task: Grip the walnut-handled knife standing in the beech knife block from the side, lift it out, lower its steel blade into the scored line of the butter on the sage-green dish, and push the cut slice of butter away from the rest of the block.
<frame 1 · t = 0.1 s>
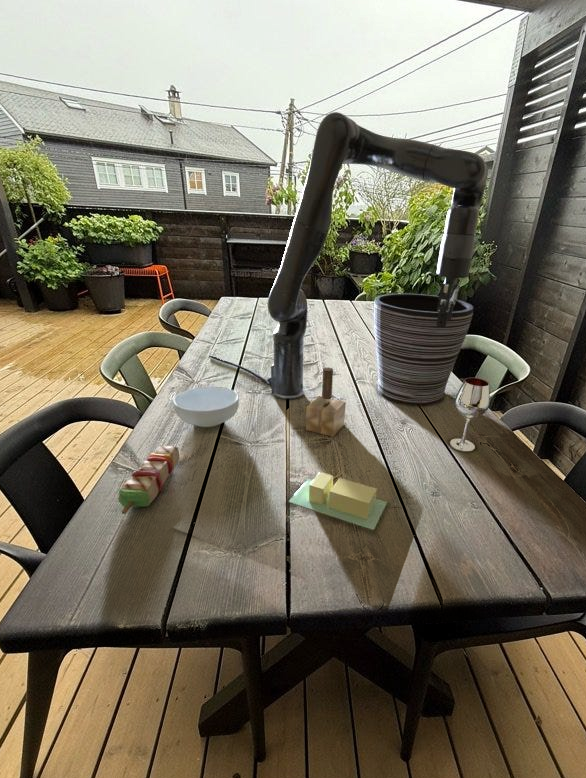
hand: (443, 323, 101), 29 cm above the table, tool pointing down, fingers open, 8 cm apart
cereal bowl: (208, 421, 110), on the table
knife block: (325, 427, 110), on the table
butter slice: (320, 496, 81), point 1 cm above the table, touching butter dish
knife: (326, 399, 106), in the knife block
butter dish: (338, 504, 81), on the table
skewer: (150, 489, 82), on the table
wineglass: (462, 446, 105), on the table
planter pot: (410, 392, 136), on the table
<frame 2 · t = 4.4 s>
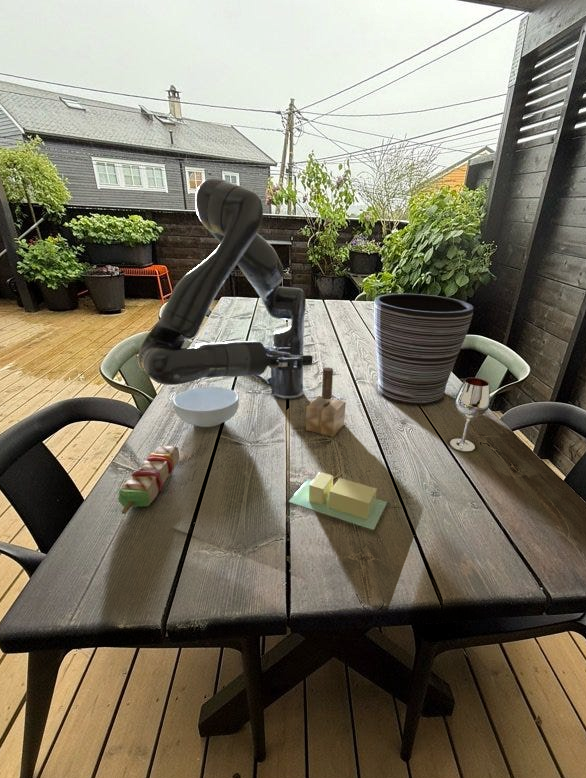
hand: (300, 355, 97), 22 cm above the table, tool horizontal, fingers open, 8 cm apart
nothing on the table moved.
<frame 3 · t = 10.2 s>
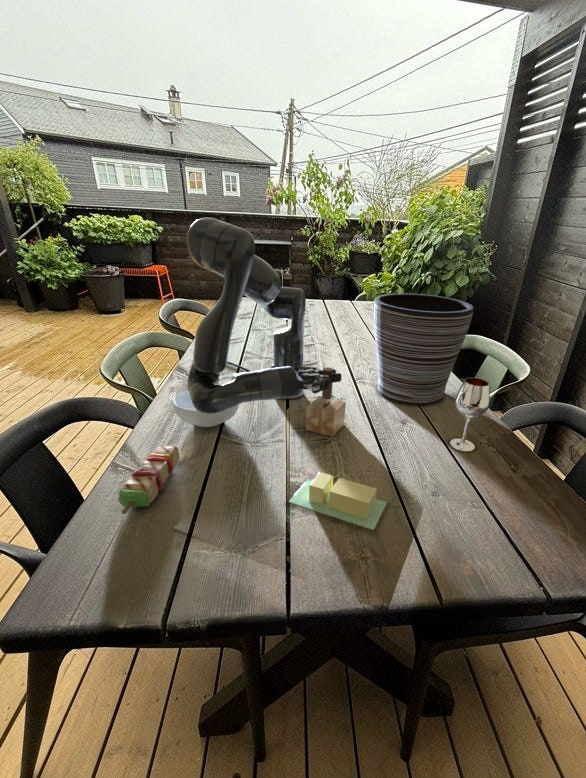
hand: (337, 375, 104), 15 cm above the table, tool horizontal, fingers closed on knife, 2 cm apart
knife: (326, 399, 106), in the knife block, touching gripper
everything else where it was.
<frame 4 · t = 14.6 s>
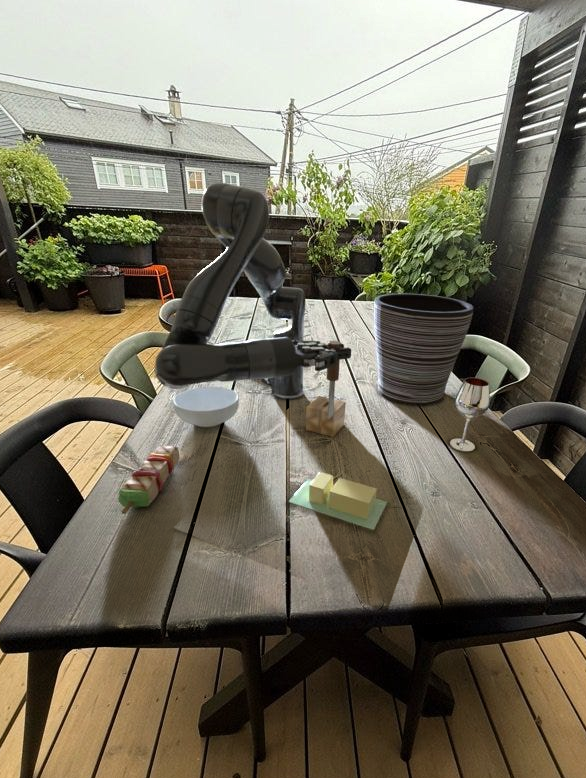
hand: (346, 350, 84), 27 cm above the table, tool horizontal, fingers closed on knife, 2 cm apart
knife: (332, 381, 85), point 21 cm above the table, touching gripper
everything else where it was.
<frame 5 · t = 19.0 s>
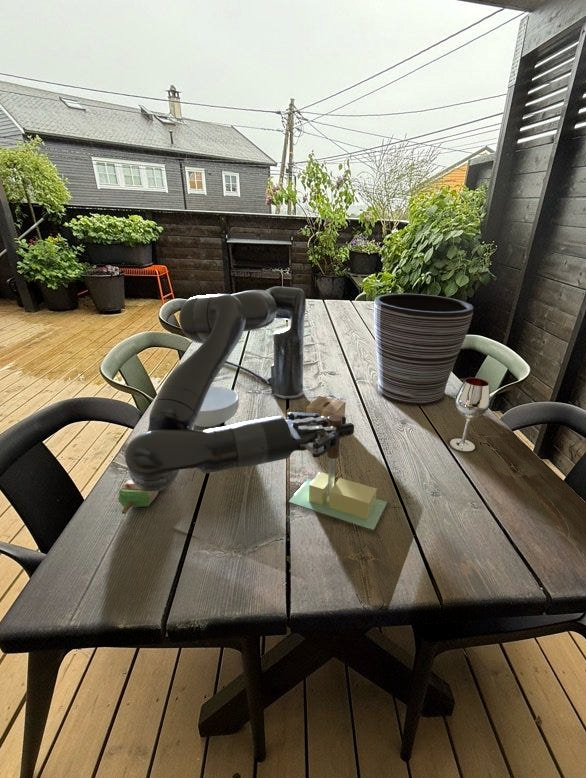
hand: (348, 424, 74), 17 cm above the table, tool horizontal, fingers closed on knife, 2 cm apart
knife: (332, 457, 76), point 11 cm above the table, touching gripper
everything else where it was.
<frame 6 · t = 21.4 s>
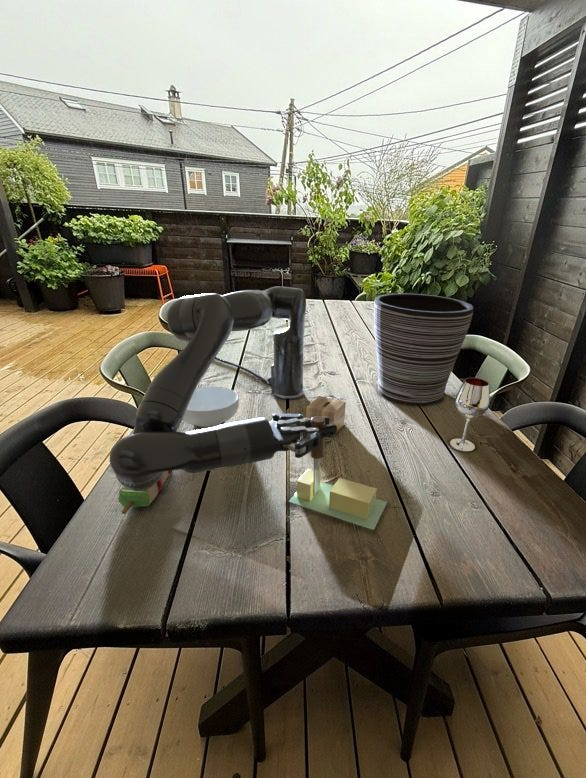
hand: (331, 425, 76), 16 cm above the table, tool horizontal, fingers closed on knife, 2 cm apart
butter slice: (309, 492, 82), point 1 cm above the table, touching butter dish, knife
knife: (317, 457, 78), point 10 cm above the table, touching butter slice, gripper
everything else where it was.
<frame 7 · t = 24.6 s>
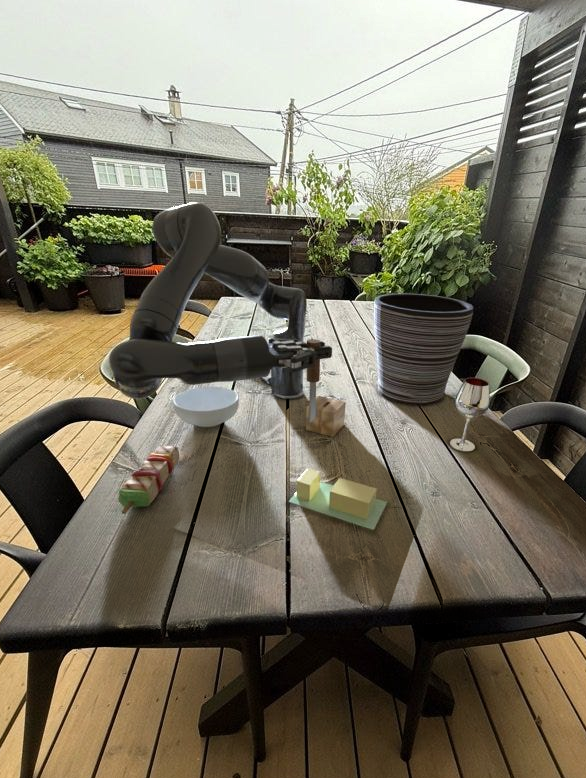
hand: (327, 349, 77), 29 cm above the table, tool horizontal, fingers closed on knife, 2 cm apart
butter slice: (308, 492, 82), point 1 cm above the table, touching butter dish
knife: (312, 382, 79), point 22 cm above the table, touching gripper
everything else where it was.
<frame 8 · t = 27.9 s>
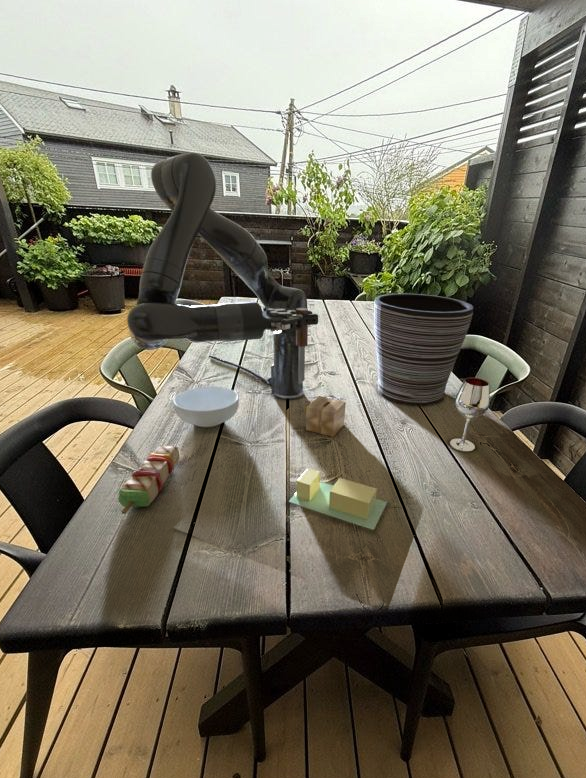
hand: (314, 317, 88), 32 cm above the table, tool horizontal, fingers closed on knife, 2 cm apart
knife: (301, 347, 90), point 25 cm above the table, touching gripper
everything else where it was.
at the end: butter slice 0.9 cm from the target spot on the butter dish, point 0.8 cm above the butter dish's base; butter slice moved 2.9 cm from its start; the gripper is holding knife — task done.
